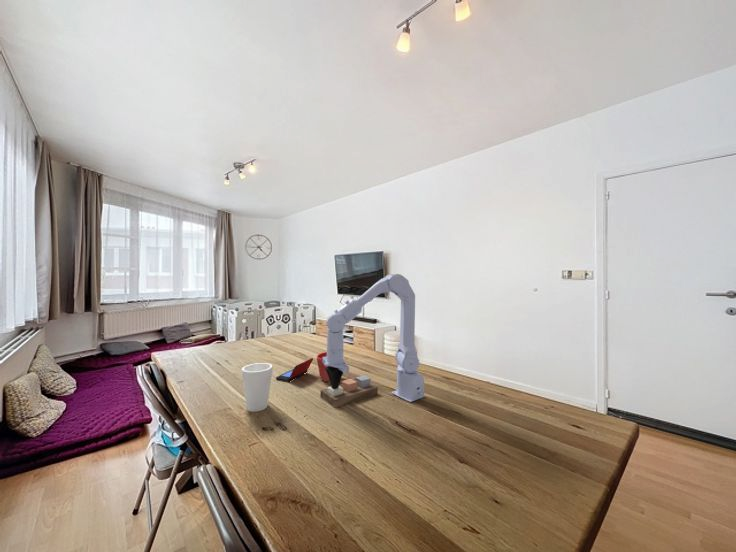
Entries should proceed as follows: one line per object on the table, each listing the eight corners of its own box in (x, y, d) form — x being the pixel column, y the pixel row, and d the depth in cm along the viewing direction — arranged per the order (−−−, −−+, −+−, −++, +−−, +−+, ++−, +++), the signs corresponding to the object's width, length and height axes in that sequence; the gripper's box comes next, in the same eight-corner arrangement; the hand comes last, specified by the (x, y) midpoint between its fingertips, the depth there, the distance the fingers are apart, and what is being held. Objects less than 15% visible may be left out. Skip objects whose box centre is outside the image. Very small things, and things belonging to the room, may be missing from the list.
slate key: (370, 386, 106) (370, 378, 106) (361, 388, 103) (361, 380, 103) (363, 383, 109) (363, 375, 109) (355, 385, 106) (355, 377, 106)
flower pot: (341, 383, 114) (341, 359, 114) (314, 383, 114) (314, 358, 114) (344, 374, 124) (344, 351, 124) (319, 373, 125) (319, 351, 125)
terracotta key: (357, 390, 102) (357, 381, 102) (347, 393, 99) (347, 384, 99) (350, 386, 105) (350, 378, 105) (341, 389, 103) (341, 381, 103)
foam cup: (235, 409, 91) (235, 369, 91) (258, 398, 100) (258, 361, 99) (255, 416, 87) (255, 374, 87) (278, 404, 95) (278, 365, 95)
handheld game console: (294, 371, 129) (294, 354, 129) (314, 374, 124) (314, 357, 124) (274, 380, 118) (274, 362, 117) (295, 384, 113) (295, 365, 113)
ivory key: (343, 396, 98) (343, 388, 98) (333, 400, 96) (333, 391, 96) (337, 393, 101) (337, 384, 101) (327, 396, 99) (327, 387, 99)
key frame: (377, 393, 104) (377, 386, 104) (335, 407, 93) (335, 400, 93) (361, 385, 112) (361, 378, 112) (320, 397, 101) (320, 390, 101)
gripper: (315, 346, 102) (314, 384, 102) (336, 355, 90) (336, 398, 90) (332, 343, 106) (331, 379, 106) (354, 351, 95) (354, 392, 95)
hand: (335, 388), depth 99 cm, fingers closed, pressing on ivory key
